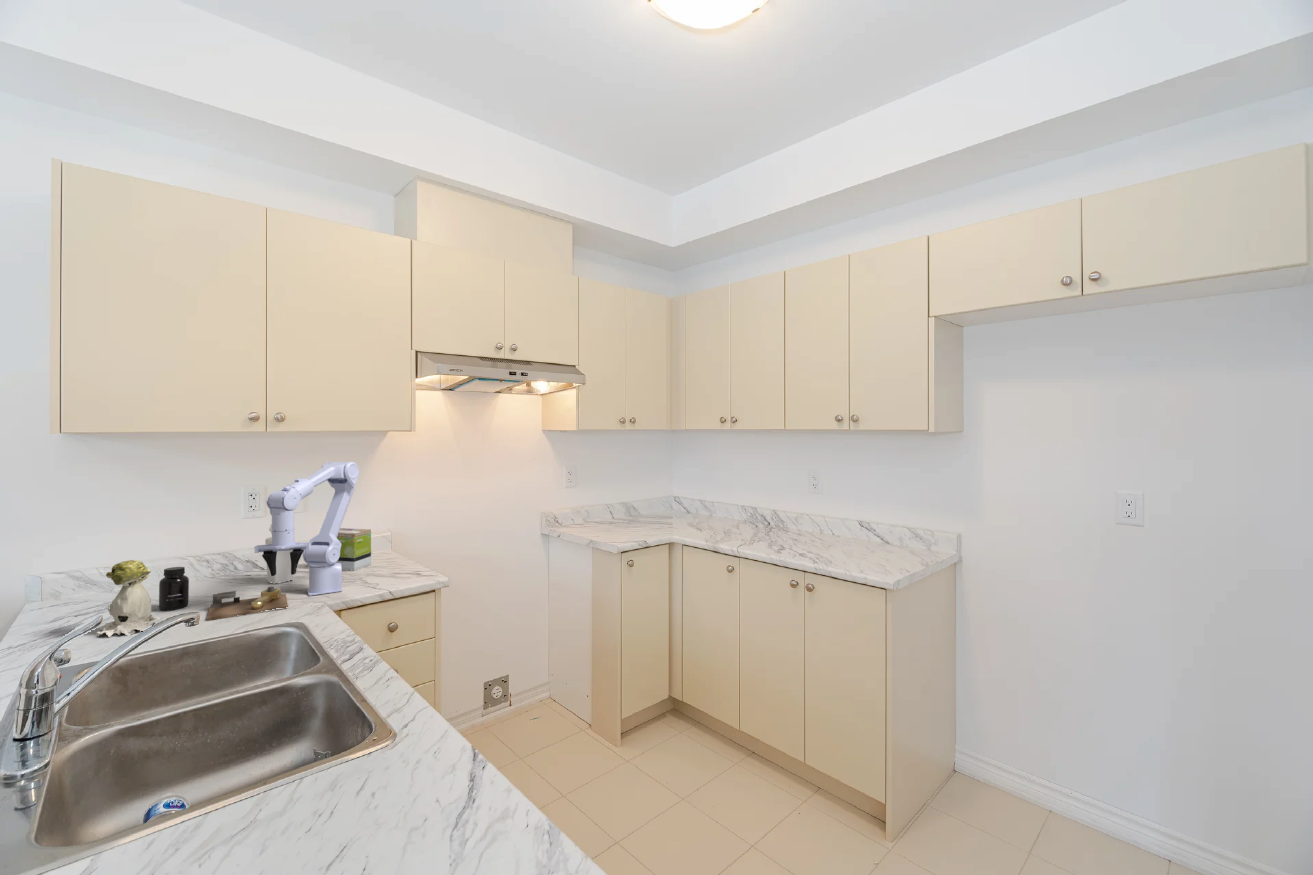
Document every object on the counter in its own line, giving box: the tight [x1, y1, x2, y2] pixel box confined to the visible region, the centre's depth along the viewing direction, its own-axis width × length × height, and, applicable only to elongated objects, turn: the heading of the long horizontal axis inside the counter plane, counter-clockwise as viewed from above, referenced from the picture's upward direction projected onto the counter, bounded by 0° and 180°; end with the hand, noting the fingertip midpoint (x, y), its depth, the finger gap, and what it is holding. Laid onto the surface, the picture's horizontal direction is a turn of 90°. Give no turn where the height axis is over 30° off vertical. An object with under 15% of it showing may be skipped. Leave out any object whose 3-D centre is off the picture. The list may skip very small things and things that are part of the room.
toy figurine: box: [96, 559, 160, 638], centre depth 152 cm, size 12×13×18 cm
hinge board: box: [206, 585, 289, 622], centre depth 170 cm, size 19×16×4 cm
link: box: [251, 587, 282, 609], centre depth 172 cm, size 14×5×2 cm, turn 15°
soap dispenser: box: [264, 523, 293, 584], centre depth 200 cm, size 6×6×22 cm
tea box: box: [336, 527, 372, 572], centre depth 221 cm, size 15×10×15 cm, turn 81°
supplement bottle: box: [158, 566, 190, 612], centre depth 170 cm, size 7×7×12 cm
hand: (283, 574), depth 172 cm, fingers open, 5 cm apart
